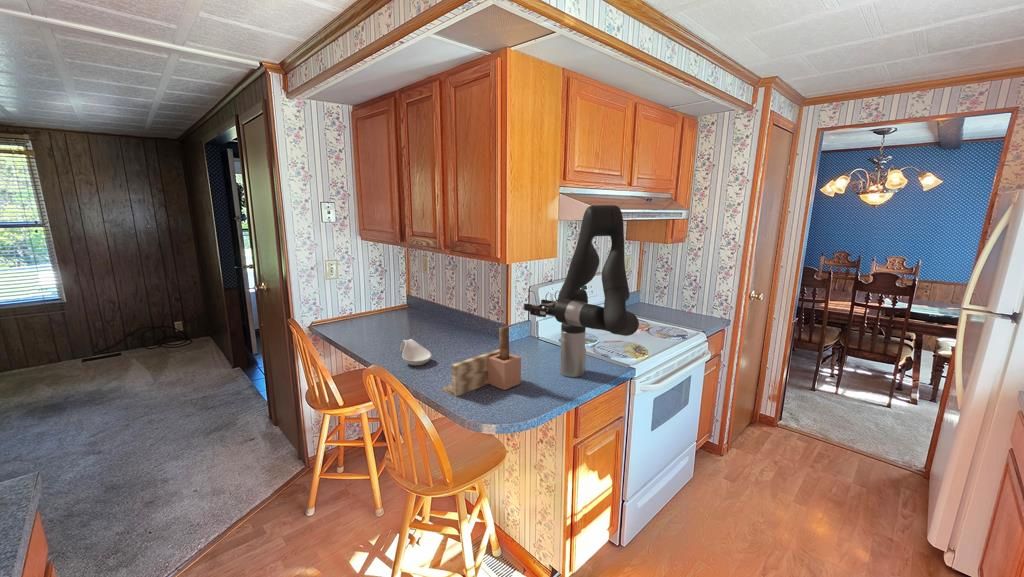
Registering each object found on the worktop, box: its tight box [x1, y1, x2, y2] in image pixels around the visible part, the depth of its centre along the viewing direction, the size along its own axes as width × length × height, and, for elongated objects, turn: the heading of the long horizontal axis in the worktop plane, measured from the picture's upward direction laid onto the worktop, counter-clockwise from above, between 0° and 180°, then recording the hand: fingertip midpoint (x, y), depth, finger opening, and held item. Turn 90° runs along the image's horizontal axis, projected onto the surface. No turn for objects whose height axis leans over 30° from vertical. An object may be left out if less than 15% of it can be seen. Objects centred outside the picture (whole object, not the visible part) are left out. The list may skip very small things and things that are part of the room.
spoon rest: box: [399, 338, 432, 367], centre depth 184 cm, size 24×12×7 cm, turn 31°
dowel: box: [498, 326, 510, 361], centre depth 155 cm, size 4×4×14 cm
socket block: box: [487, 353, 522, 391], centre depth 157 cm, size 8×8×10 cm
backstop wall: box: [442, 349, 500, 397], centre depth 157 cm, size 24×7×11 cm, turn 136°
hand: (533, 304), depth 143 cm, fingers open, 8 cm apart
